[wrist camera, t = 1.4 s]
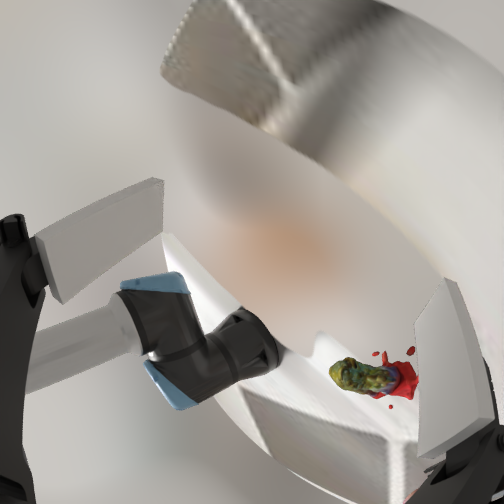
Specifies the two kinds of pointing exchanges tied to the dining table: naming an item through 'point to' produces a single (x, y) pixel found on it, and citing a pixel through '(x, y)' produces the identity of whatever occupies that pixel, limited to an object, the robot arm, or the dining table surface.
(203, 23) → the dining table surface
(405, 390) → the figurine
